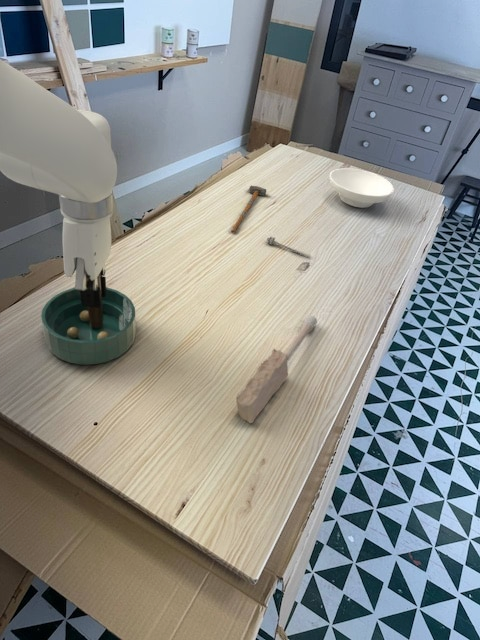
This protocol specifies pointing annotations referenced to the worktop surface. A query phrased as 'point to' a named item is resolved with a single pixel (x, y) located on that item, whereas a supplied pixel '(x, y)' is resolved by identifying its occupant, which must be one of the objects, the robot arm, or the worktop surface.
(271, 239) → the screw
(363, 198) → the bowl
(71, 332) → the bead
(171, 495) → the worktop surface
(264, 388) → the tan handled block
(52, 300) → the mixing bowl
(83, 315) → the bead
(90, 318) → the stick
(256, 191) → the sledgehammer
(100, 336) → the bead
